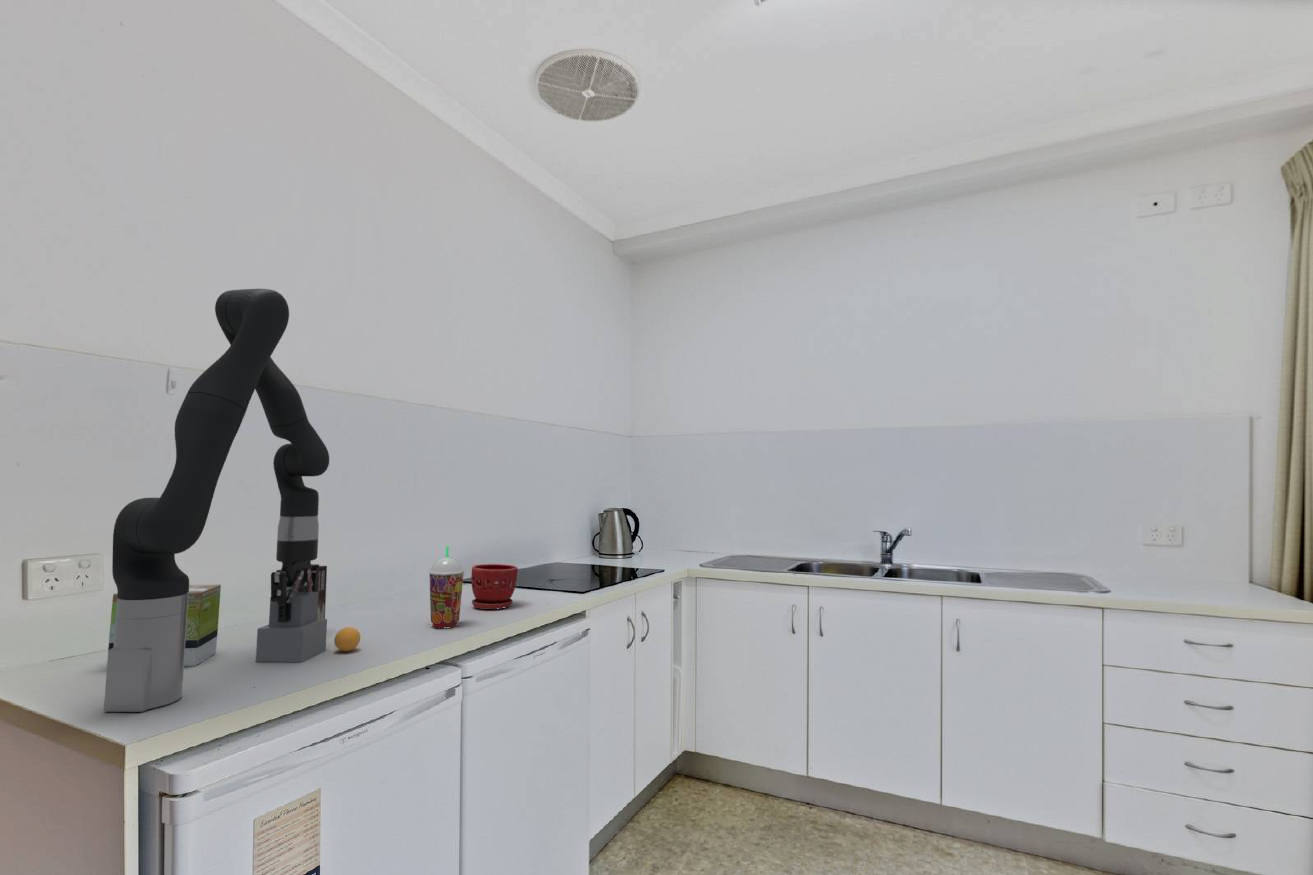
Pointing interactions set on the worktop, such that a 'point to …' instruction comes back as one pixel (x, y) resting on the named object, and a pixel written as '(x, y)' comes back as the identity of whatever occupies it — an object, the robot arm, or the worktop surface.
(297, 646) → the stepped grey block
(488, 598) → the plant pot
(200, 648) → the tea box
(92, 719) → the worktop surface
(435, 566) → the smoothie
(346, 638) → the ball
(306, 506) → the robot arm
